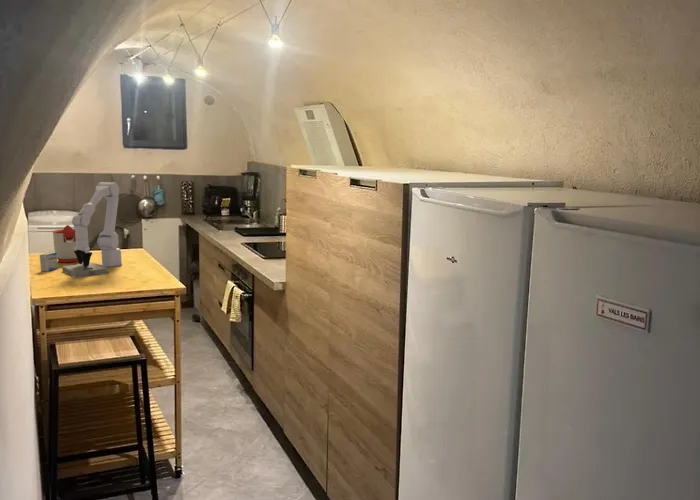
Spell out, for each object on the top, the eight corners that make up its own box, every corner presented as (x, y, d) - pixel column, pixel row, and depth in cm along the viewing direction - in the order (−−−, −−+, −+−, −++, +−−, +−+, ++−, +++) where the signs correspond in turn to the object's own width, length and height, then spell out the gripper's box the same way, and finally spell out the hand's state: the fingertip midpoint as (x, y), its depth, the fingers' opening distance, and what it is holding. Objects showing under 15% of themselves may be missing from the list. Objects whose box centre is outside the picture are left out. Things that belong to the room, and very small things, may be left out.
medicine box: (48, 271, 333) (47, 254, 332) (40, 271, 334) (39, 254, 333) (58, 268, 341) (57, 252, 339) (50, 268, 342) (49, 251, 340)
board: (94, 267, 344) (94, 262, 344) (108, 273, 329) (108, 268, 329) (62, 271, 334) (62, 266, 334) (75, 277, 319) (75, 272, 319)
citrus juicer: (55, 265, 350) (53, 228, 347) (53, 259, 365) (51, 224, 362) (87, 262, 357) (84, 226, 354) (83, 257, 372) (81, 222, 369)
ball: (91, 262, 331) (88, 268, 332) (88, 260, 334) (85, 266, 334) (85, 261, 329) (82, 267, 329) (82, 258, 331) (79, 265, 331)
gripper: (69, 237, 333) (71, 264, 335) (78, 241, 322) (80, 268, 324) (83, 236, 337) (85, 262, 340) (93, 239, 326) (95, 266, 329)
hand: (83, 265), depth 332 cm, fingers open, 7 cm apart
